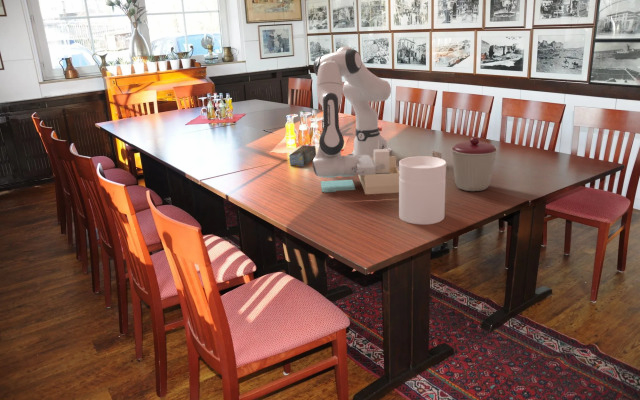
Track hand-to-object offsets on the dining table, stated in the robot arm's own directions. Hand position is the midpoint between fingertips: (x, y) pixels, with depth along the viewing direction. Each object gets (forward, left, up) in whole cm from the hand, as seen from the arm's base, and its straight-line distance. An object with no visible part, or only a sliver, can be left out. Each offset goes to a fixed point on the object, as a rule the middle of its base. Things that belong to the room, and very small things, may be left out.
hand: (383, 164), depth 221 cm
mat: (+12, -16, -9) cm, 22 cm away
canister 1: (+27, +30, -9) cm, 41 cm away
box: (+1, -1, -8) cm, 8 cm away
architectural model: (-35, +8, -9) cm, 37 cm away
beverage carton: (-15, -55, -9) cm, 58 cm away
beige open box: (+1, -1, -9) cm, 9 cm away
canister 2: (-12, +34, -9) cm, 38 cm away
